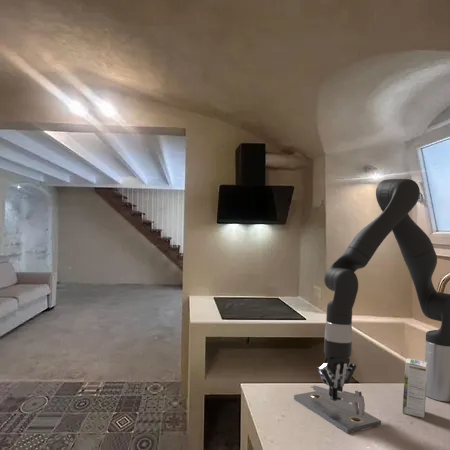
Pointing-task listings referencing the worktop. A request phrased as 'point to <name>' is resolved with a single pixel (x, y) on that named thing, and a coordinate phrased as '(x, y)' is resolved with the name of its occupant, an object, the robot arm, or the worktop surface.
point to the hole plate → (337, 412)
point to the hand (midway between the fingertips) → (335, 399)
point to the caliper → (347, 398)
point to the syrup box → (415, 387)
